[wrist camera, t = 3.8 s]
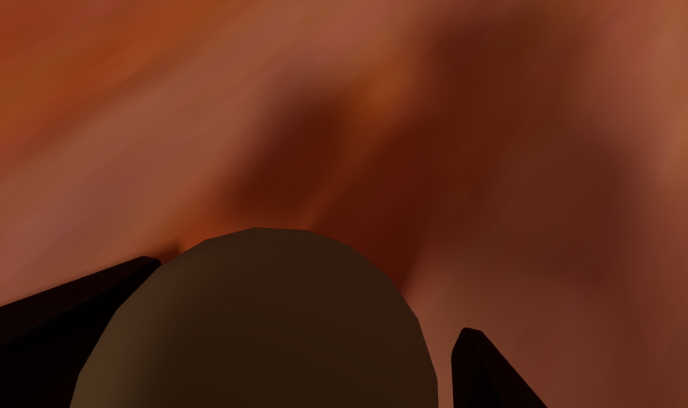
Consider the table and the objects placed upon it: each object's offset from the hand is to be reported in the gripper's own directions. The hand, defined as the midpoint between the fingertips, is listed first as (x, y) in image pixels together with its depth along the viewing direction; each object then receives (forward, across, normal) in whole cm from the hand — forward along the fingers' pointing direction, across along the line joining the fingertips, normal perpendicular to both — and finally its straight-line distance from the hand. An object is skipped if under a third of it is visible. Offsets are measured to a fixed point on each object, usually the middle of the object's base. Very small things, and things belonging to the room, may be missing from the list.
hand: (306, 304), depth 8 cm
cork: (+4, 0, +6) cm, 7 cm away
